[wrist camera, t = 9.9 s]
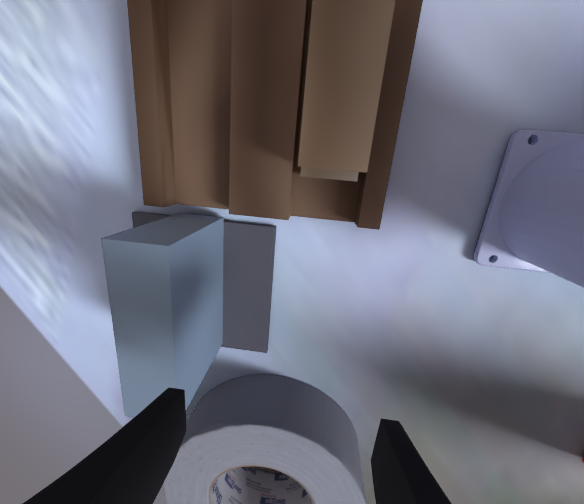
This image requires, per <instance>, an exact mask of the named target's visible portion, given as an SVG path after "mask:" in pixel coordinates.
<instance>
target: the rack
mask: <svg viewBox="0 0 584 504" xmlns="http://www.w3.org/2000/svg"><path fill="white" fill-rule="evenodd" d="M422 1H423V0H395V6H394V12H393V18H392V24H391V31H390V37H389V43H388V49H387V55H386V61H385V67H384V73H383V79H382V85H381V91H380V97H379V103H378V109H377V115H376V121H375V128H374V134H373V140H372V146H371V152H370V158H369V164H368V170H367V172H359V173H358V180H357V182H356V181H345V180H334V179H324V178H313V177H302V176H300V174H301V166H298V158H299V147H300V135H301V124H302V113H303V102H304V90H305V79H306V68H307V57H308V45H309V34H310V23H311V12H312V0H127V3H128V15H129V28H130V40H131V52H132V64H133V77H134V89H135V101H136V114H137V126H138V138H139V151H140V163H141V175H142V188H143V200H144V205H148V206H158V207H165V206H169V205H173V204H182V205H192V206H202V207H212V208H221V209H229V214H235V215H245V216H254V217H264V218H274V219H283V220H288V219H289V218H290V216H299V217H309V218H319V219H328V220H338V221H348V222H355V224H356V225H357V227H360V228H370V229H379V228H380V223H381V217H382V212H383V207H384V201H385V196H386V191H387V186H388V180H389V175H390V170H391V165H392V159H393V154H394V149H395V144H396V138H397V133H398V128H399V123H400V117H401V112H402V107H403V101H404V96H405V91H406V86H407V80H408V75H409V70H410V65H411V59H412V54H413V49H414V44H415V38H416V33H417V28H418V23H419V17H420V12H421V7H422Z"/></svg>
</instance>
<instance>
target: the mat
mask: <svg viewBox="0 0 584 504" xmlns="http://www.w3.org/2000/svg"><path fill="white" fill-rule="evenodd" d="M169 216H172V215H165V214H156V213H146V212H137V211H135V212H132V219H133V228H135V227H138V226H141V225H145V224H148V223H151V222H154V221H157V220H160V219H163V218H166V217H169ZM275 237H276V226H270V225H260V224H251V223H241V222H232V221H224V237H223V343H222V345H221V347H228V348H235V349H242V350H250V351H257V352H264V353H267V350H268V337H269V322H270V308H271V294H272V280H273V265H274V251H275Z"/></svg>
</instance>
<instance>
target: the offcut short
mask: <svg viewBox="0 0 584 504" xmlns="http://www.w3.org/2000/svg"><path fill="white" fill-rule="evenodd" d="M394 6H395V0H312V12H311V23H310V34H309V45H308V57H307V68H306V79H305V90H304V102H303V113H302V124H301V135H300V147H299V158H298V166H301V167H312V168H323V169H334V170H345V171H356V172H367V170H368V164H369V158H370V152H371V146H372V140H373V134H374V128H375V121H376V115H377V109H378V103H379V97H380V91H381V85H382V79H383V73H384V67H385V61H386V55H387V49H388V43H389V37H390V31H391V24H392V18H393V12H394Z"/></svg>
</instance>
